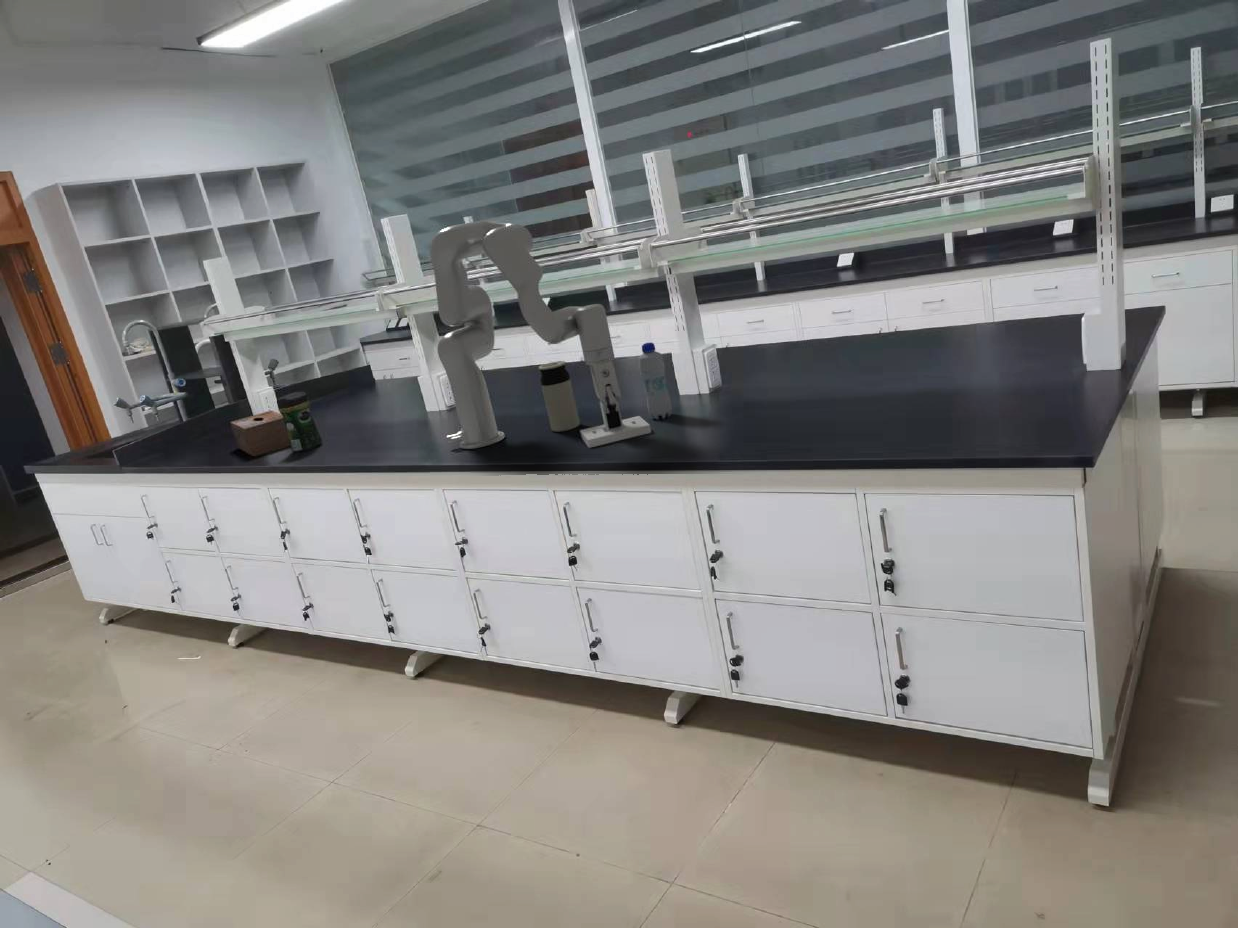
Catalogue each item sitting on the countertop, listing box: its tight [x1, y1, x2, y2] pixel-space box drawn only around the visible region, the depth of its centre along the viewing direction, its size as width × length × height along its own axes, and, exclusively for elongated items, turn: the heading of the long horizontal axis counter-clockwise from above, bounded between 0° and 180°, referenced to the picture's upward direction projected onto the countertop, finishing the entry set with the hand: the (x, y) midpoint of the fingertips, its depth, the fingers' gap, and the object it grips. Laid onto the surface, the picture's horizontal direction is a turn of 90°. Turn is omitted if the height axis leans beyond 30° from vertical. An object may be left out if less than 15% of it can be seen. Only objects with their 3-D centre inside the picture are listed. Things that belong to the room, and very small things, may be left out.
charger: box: [599, 398, 623, 432], centre depth 222 cm, size 4×4×8 cm
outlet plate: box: [579, 415, 652, 449], centre depth 224 cm, size 16×12×2 cm
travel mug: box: [537, 360, 581, 433], centre depth 240 cm, size 8×8×18 cm
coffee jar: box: [276, 391, 323, 453], centre depth 286 cm, size 10×8×19 cm
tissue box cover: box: [230, 410, 291, 457], centre depth 306 cm, size 26×14×10 cm, turn 34°
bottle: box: [638, 342, 673, 420], centre depth 230 cm, size 7×7×20 cm
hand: (613, 424), depth 223 cm, fingers closed on charger, 3 cm apart
